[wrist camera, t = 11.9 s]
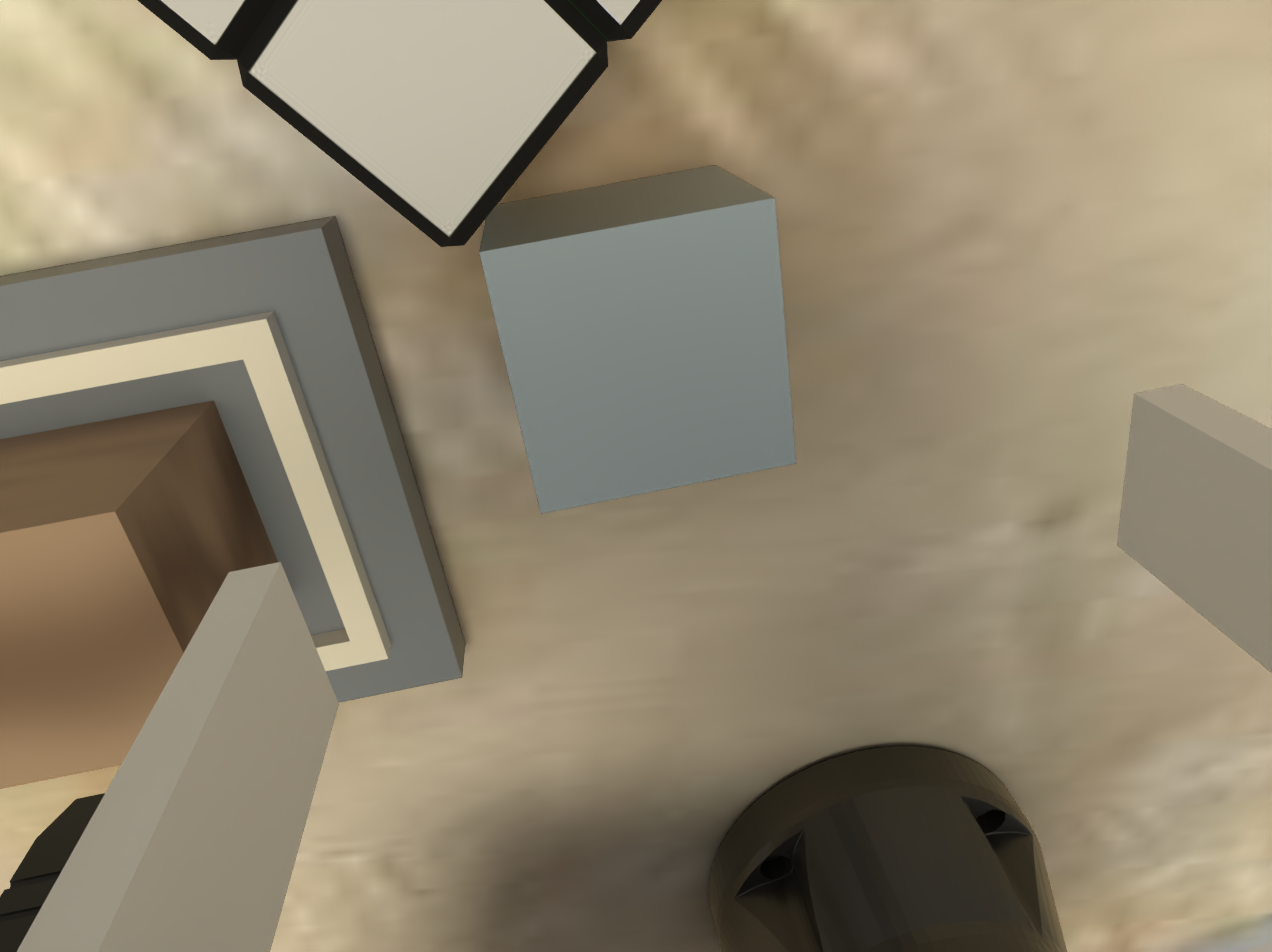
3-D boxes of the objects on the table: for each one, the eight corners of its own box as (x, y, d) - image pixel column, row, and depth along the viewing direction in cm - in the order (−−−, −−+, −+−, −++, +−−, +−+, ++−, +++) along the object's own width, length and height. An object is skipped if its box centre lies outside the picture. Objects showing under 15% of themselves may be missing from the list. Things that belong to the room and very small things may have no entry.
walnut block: (291, 594, 29) (227, 743, 23) (78, 634, 28) (-46, 797, 22) (213, 400, 26) (114, 511, 19) (-26, 444, 25) (-205, 571, 19)
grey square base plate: (465, 643, 33) (460, 692, 30) (40, 729, 32) (0, 785, 30) (334, 216, 26) (314, 233, 23) (-215, 314, 25) (-296, 343, 23)
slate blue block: (737, 377, 30) (795, 463, 23) (536, 416, 29) (540, 513, 23) (714, 164, 26) (775, 197, 20) (488, 205, 26) (478, 252, 20)
